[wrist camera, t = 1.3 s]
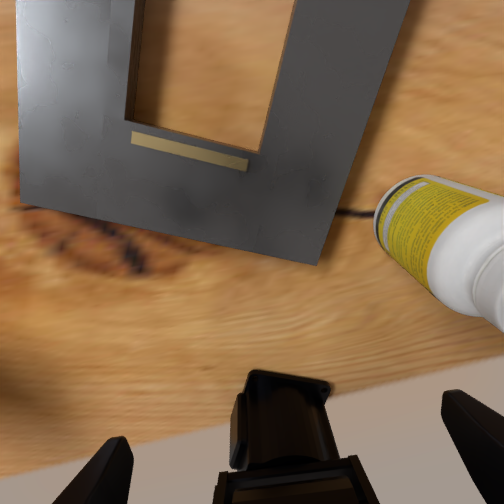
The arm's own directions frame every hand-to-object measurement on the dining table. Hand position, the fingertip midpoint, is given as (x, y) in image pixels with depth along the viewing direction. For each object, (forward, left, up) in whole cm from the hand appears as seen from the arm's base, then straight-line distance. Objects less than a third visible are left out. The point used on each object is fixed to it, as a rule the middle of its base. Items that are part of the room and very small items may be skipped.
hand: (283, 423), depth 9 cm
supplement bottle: (-9, -5, -13) cm, 16 cm away
